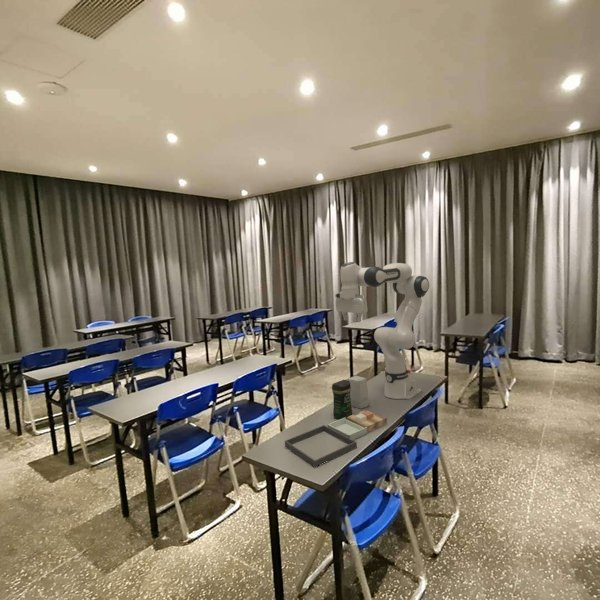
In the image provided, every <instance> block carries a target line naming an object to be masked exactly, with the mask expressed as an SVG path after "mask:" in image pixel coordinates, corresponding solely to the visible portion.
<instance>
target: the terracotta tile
mask: <svg viewBox="0 0 600 600" xmlns="http://www.w3.org/2000/svg"><path fill="white" fill-rule="evenodd" d="M369 411H370V410H368V411H365V412H363V413H362V414H363V415H366V416H367V420H368V419H370V418H373V417H374V415H373V413H374V412H373V411H370V412H369ZM372 412H373V413H372Z"/></svg>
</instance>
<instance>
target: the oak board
mask: <svg viewBox="0 0 600 600" xmlns="http://www.w3.org/2000/svg"><path fill="white" fill-rule="evenodd" d="M365 411H369V412H372V413H373V415H374V417H373V418H370V419H368V420H366V421H363V422H359V421H356V420H355V416H356V415H358V414H362V413H363V412H365ZM346 418H347V419H346V420H349V421H351V422H353V423H355V424H357V425H359V426H361V427H364V428H365V427H367V434H368V433H370V432H373V431H375V430H378V429H379V428H381V427H384V426H386V425H387V424H388V422H387V417H385V416H382V415H380V414H378V413H375V412H373V411H370V410H368V409H363V410H361V411H359V412H356V413H354V414H353V413H352V415H351V416H348V417H346Z"/></svg>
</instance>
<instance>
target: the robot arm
mask: <svg viewBox="0 0 600 600" xmlns="http://www.w3.org/2000/svg"><path fill="white" fill-rule="evenodd" d="M339 273H340V275H339V276H340V282H341V287H340V288H341V291H339V292H337V293H335V295H334V296H335V298H336V299H335V308H336V311H337V312H339V313H341V315H342V317H343V321H349V317H348V315H347V313H351V314H352V313H353V314H356V315H357V318H355V321H356V323H361V321H362V317H363V314H366V313H368V303H367V300H366V296H364V294H360V290H359V289H360V287H375V288H378V287H380V286H381V285H383V284H384V283H388V284H392V289H393V291H394V293H396V294H399V295H404V299H403V300H402V302H401V303H400V305H399V306H398V309H397V310H396V312H395V314H394V317H393V318H394V321H395V323H396V326H395V327H389V326H382V327H377V328H376V330H375V331H374V333H373V338H374V341H375V342H376V343H377V345H379V348H380V349H381V352H382V354H383V356H384V363H385V364H384V365H385V371H384V375H385V379H384V382H385V383H384V389H383V392H384V393H383V394H384V395H383V396H385V398H386V397H387V398H388V399H394V400H404V399H405V400H411V399H413V398H414V397H416V396H417V395H418V394H420V393H421V392H422V391H423V390H422V389H421V388H420V387H418V386H417V385H418V384H417V381H416V380H415V379H413V378H412V377H410V376H409V375H410V374H411V373H412V371H411V369H406V357H405V355H403V353H402V352H401V351H400V350H407V349H411V348H413V347H414V345H415V343H416V336H415V334H414V332H413V324H414V322H415V320H416V318H417V317H418V315H419V312H420V309H421V307H422V303H423V299H422V298H423V297H424V296H425V295H426V293H427V292H428V290H429V289H430V281H429V279H428V278H427V277H426V276H423V275H412V274H413V269H412V267H411V265H409V264H407V263H402V262H394V263H388V264H385V265H384V266H383V268H382V267H380V266H371V267H362V266H360V265H358V264H357V262H354V261H349V262H346V263H345V262H344V263H343V264H342V265H341V267H340V272H339Z"/></svg>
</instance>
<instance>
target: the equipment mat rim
mask: <svg viewBox="0 0 600 600" xmlns="http://www.w3.org/2000/svg"><path fill="white" fill-rule="evenodd" d="M322 432H326V433H327V434H329V435H331V436H333V437H336V438H337V439H338V440H340V441H341V442H344V443H346V445H345V446H343V447H340V448H337V450H334V451H332V452H330V453H328V454H326V455H323V456H321V457H319V458H316V459H314V458H312V457H311V456H310V455H308V454H307V453H305V452H304V451H302V450H300V449H299V448H298V447H296V446H294V445H293V444H296V443H299V442H301V441H303V440H305V439H308V438H310V437H313V436H315V435H318V434H319V433H322ZM357 444H358V442H357V441H355V440H352V439H350V438H348V437H346V436H344V435H342V434H340V433H338V432H337V431H335V430H333V429H331V428H329V427H328V425H324V424H323V425H321V426H318V427H315V428H313V429H311V430H309V431H306V432H303V433H301V434H299V435H296V436H293V437H291V438H288V439H286V440H284V447H285V448H287V449H288V450H289V451H291V452H293V453H294V454H295V455H297V456H298V457H300V458H301V459H303V460H304V461H305V462H307V463H308V464H309V465H311V466H312V465H313V466H312V467H314V468H317V467H319V466H321V465H320V464H322V463H324V462H326V461H328V460H330V461H332V460H334V459H336V458H338V457H339V456H340V457H341V456H342V455H345V454H347V453H349V452H350V451H353V450H354V449H357V447H358V445H357ZM337 456H338V457H337ZM335 457H336V458H335ZM333 458H334V459H333ZM331 459H332V460H331ZM328 462H329V461H328ZM326 463H327V462H326ZM324 464H325V463H324ZM318 465H319V466H318ZM322 465H323V464H322ZM316 466H317V467H316Z"/></svg>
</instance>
